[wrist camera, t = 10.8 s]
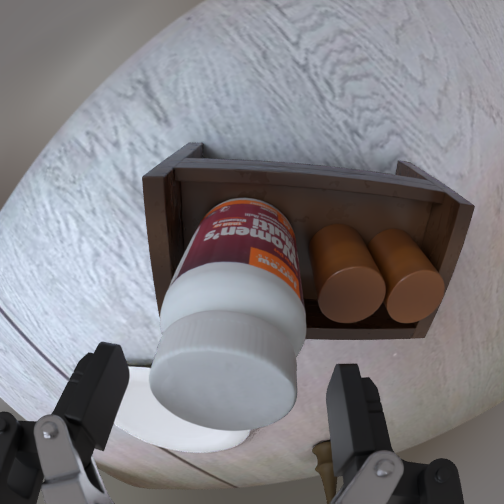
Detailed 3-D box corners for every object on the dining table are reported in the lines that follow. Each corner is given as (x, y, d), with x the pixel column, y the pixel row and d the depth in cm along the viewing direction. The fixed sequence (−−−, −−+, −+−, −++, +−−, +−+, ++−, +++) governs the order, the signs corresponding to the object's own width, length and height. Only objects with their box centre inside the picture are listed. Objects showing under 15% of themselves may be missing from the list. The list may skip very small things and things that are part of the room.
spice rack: (188, 142, 23) (125, 189, 13) (410, 162, 23) (494, 220, 13) (191, 253, 28) (152, 349, 18) (386, 265, 28) (434, 358, 17)
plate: (64, 359, 38) (60, 367, 37) (221, 350, 34) (219, 361, 33) (140, 442, 50) (138, 449, 48) (267, 443, 46) (267, 452, 44)
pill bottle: (304, 204, 18) (341, 349, 8) (284, 289, 21) (290, 443, 11) (200, 187, 18) (123, 316, 8) (193, 275, 21) (144, 421, 11)
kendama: (357, 436, 44) (371, 539, 27) (321, 456, 49) (326, 549, 31) (332, 430, 43) (342, 542, 26) (296, 451, 47) (297, 550, 30)
